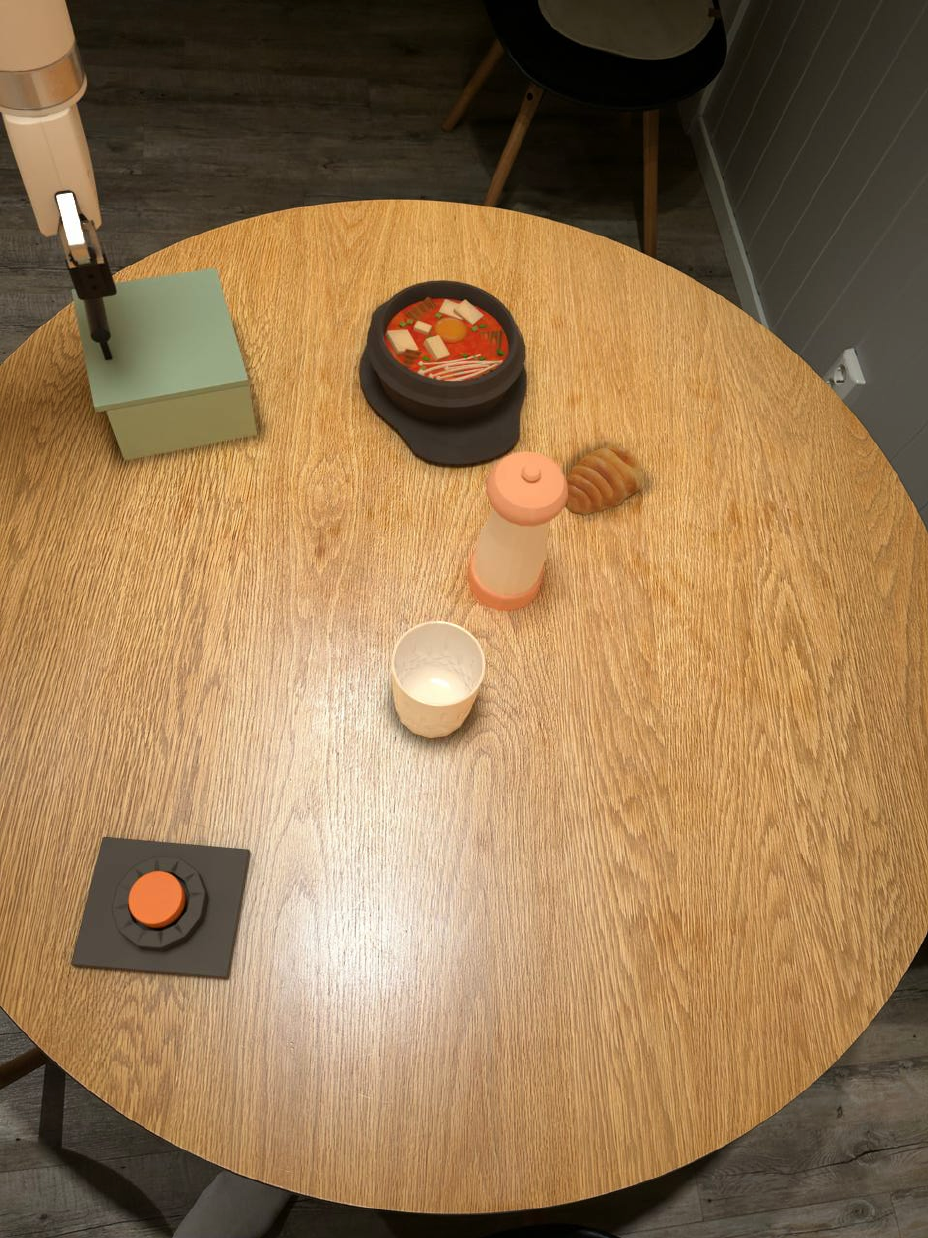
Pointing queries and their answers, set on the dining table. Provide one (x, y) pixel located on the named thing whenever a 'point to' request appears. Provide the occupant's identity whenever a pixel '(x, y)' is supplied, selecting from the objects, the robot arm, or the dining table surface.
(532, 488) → the salt shaker
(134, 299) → the lid
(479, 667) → the white cup
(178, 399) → the green bottomless box
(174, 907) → the button
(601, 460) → the pastry
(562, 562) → the dining table surface
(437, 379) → the casserole
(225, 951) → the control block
